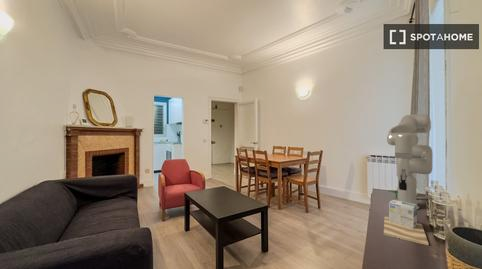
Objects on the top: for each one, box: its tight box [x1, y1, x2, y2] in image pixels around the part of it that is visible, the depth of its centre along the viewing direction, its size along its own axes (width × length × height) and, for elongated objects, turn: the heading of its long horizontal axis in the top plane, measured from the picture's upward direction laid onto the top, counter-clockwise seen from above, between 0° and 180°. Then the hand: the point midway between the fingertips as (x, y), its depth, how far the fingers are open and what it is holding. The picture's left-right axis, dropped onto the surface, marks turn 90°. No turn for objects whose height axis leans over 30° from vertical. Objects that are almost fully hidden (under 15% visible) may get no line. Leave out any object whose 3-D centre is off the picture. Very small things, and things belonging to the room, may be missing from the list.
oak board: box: [383, 216, 429, 246], centre depth 104 cm, size 22×16×1 cm
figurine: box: [387, 187, 398, 200], centre depth 151 cm, size 3×12×8 cm, turn 56°
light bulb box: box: [388, 199, 418, 229], centre depth 109 cm, size 11×7×11 cm, turn 38°
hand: (402, 188), depth 116 cm, fingers open, 2 cm apart
